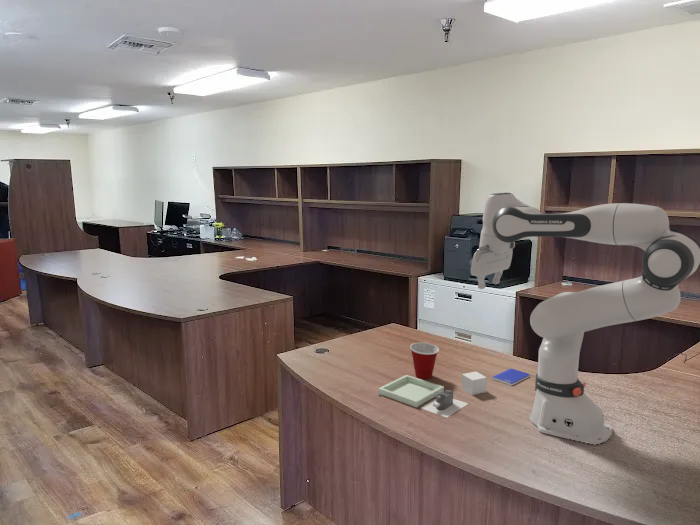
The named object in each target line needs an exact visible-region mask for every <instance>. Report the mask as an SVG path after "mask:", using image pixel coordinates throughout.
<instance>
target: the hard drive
mask: <svg viewBox="0 0 700 525" xmlns="http://www.w3.org/2000/svg"><path fill="white" fill-rule="evenodd" d="M530 377H531V376H530V373H527V372H525V371H521V370H518V369H514V368H509V369H507V370H505V371H502V372H500V373H498V374H495V375H493V376H491V380H493V379H494V380H493V381H496V380H497V382H499V381H500V383H502V382H503V383H502V384H505V383H506V384H505V385H508V386H514V385H516V384H518V383H520V382H522V381H524V380H526V379H528V378H530Z"/></svg>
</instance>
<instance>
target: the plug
mask: <svg viewBox="0 0 700 525" xmlns="http://www.w3.org/2000/svg"><path fill="white" fill-rule="evenodd" d="M435 399H436V402H435V403H433V406H434V407H436V409H438V410H445V409H446V408H448V407H450V406H451V405H453V399H454V391H453V390H451V389H444V391H443V392H441V393H439V394H438V395H436V397H435Z"/></svg>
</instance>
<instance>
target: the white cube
mask: <svg viewBox="0 0 700 525" xmlns="http://www.w3.org/2000/svg"><path fill="white" fill-rule="evenodd" d="M487 380H488V377H486V376H485V375H484V374H481V373H479V372H478V371H471V372H467V373H466V372H465V373H462V374H461V389H462V390H463V391H465V392H466V393H467V394H470V395H471V396H474V395H480V394H483V393H484V394H485V393H487V383H488V382H487Z"/></svg>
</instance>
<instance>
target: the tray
mask: <svg viewBox="0 0 700 525" xmlns="http://www.w3.org/2000/svg"><path fill="white" fill-rule="evenodd" d="M377 390H378V392H377V394H378V396H380V397H382V396H384V397H387V398H389V399H392V400H395V401H398V402H401V403H403V404H405V405H408V406H411V407H413V408H416V409H417V408H418V407H420V406H423V405H425V403H426V404H427V403H428V402H430V401H432V400H433V399H434V398H436V395H438V394H439V393H441V392H443V391H445V386H444V385H441V384H437V383H434V382H431V381H427V380H426V379H419V378H416V376H411V375H408V374H405V375H403V376H401V377H399V378H397V379H395V380H393V381H390V382H389V383H387V384H384V385H382V386H380V387H378V389H377Z"/></svg>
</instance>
